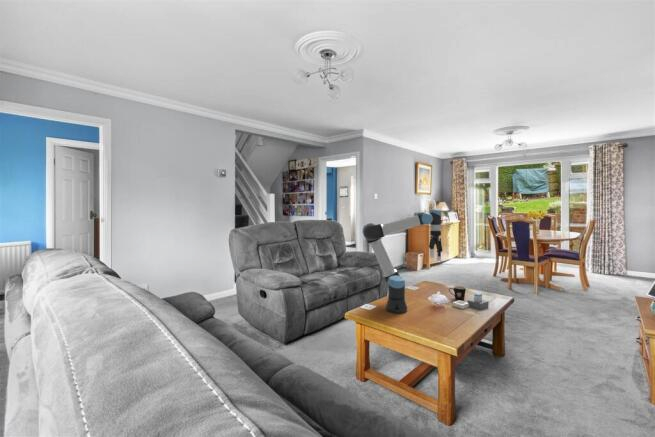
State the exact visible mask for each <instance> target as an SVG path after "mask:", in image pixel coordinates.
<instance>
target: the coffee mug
mask: <svg viewBox="0 0 655 437" xmlns="http://www.w3.org/2000/svg"><path fill="white" fill-rule="evenodd" d="M466 289H467V288H466V287H465V286H462V285H454V286H453V287H450V288H449V289H448V293H450V294H451V295H453V296H454V300H456V301H458V300H460V301H465V296H466ZM451 290H453V291H454V292H453V293H454V294H453V293H452V292H451Z"/></svg>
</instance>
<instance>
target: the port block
mask: <svg viewBox="0 0 655 437" xmlns="http://www.w3.org/2000/svg"><path fill="white" fill-rule="evenodd" d="M467 303H469V307H470V308H474V309H477V310H484V309H486V308H489V300H485V299H482V301H481V302H477V301H474V297H473V298H470V299H468V300H467Z"/></svg>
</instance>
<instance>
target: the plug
mask: <svg viewBox="0 0 655 437" xmlns="http://www.w3.org/2000/svg"><path fill="white" fill-rule="evenodd" d="M473 296H474V297H473V298H474V301H477V302H481V301H482V300H483V294H482V293H480V292H479V293H478V292H476V293H474V294H473Z"/></svg>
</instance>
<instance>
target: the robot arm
mask: <svg viewBox="0 0 655 437" xmlns="http://www.w3.org/2000/svg"><path fill="white" fill-rule="evenodd" d="M423 225H429V226H430V227H429V229H430V232H429V234H430V239H429V245H428V248H429V250H430V251H429V252H430V253H429V258H432V259H433V258H435V247H436V261H437V262H440V261H441V260H442V252H443V245H442V237H440V236H441V235H442V231H441V230H442V210H441V209H438V208H437V209H436V208H435V209H434V208H433V209H430V211H428V212H427V211H420V212H419V211H417V212H414V213H413V216H412V215H411V216H409V217H406V218H401V219H399V220H394V221H390V222H386V223H384V224H382V223H378V224H375V223H370V222H369V223H367V224H365V225H364V226H363V227H362V234H363V236H364V239H365V241H366V243H367V244H368V245H370V246H371V249H372V252H373V253H374V255H375V257H376V260H377V261H378V263H379V264H378V265H379V266H380V267H381V270H382V272H383V274H382V277H383V279H384V281H385V284H386V286H387V290H388V291H387V292H388V295H387V296H388V298H387V302H386V304H385V310H386V311H387V312H389V313H392V314H406V313H407V312H408V306H407V302H406V280H405V278H404V276H401V275H400V273H399V271H398V270H397V269H396V268H394V266H393V263H392V261H391V259H390V256H389V255H388V254H389V253H388V252H387V250H386V247H385V246H384V244H383V242H382V240H383V239H382V238H384V237H386V236H387V235H390V234H393V233H398V232H402V231H404V230H408V229H412V228H416V227H419V226H423Z"/></svg>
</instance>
